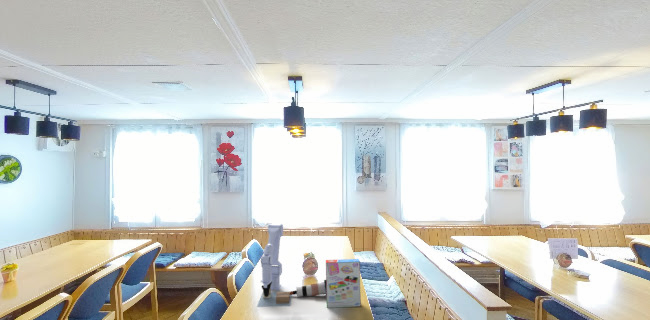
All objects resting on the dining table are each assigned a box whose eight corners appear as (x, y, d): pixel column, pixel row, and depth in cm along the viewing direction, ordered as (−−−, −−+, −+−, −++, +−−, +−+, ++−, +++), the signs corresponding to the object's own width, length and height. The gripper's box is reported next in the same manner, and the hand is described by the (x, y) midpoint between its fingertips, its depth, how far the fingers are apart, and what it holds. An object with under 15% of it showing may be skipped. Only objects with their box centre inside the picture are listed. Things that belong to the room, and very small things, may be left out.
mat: (262, 293, 218) (262, 292, 218) (292, 292, 219) (292, 291, 219) (256, 307, 196) (256, 306, 196) (290, 306, 197) (290, 305, 197)
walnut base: (277, 298, 208) (277, 291, 208) (290, 297, 209) (289, 291, 209) (276, 303, 200) (275, 296, 200) (289, 303, 201) (289, 296, 201)
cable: (290, 302, 213) (288, 286, 218) (340, 294, 216) (338, 278, 220) (288, 301, 204) (287, 284, 209) (341, 293, 207) (339, 276, 211)
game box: (359, 303, 201) (359, 258, 201) (361, 307, 195) (360, 261, 196) (326, 304, 200) (325, 259, 200) (326, 308, 195) (325, 262, 195)
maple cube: (264, 295, 213) (264, 288, 213) (271, 295, 213) (270, 288, 213) (263, 298, 209) (262, 291, 209) (270, 297, 209) (270, 290, 209)
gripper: (262, 270, 218) (262, 290, 218) (258, 277, 204) (258, 299, 204) (272, 270, 219) (273, 290, 218) (270, 277, 204) (270, 299, 204)
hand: (267, 295), depth 211 cm, fingers closed on maple cube, 4 cm apart
